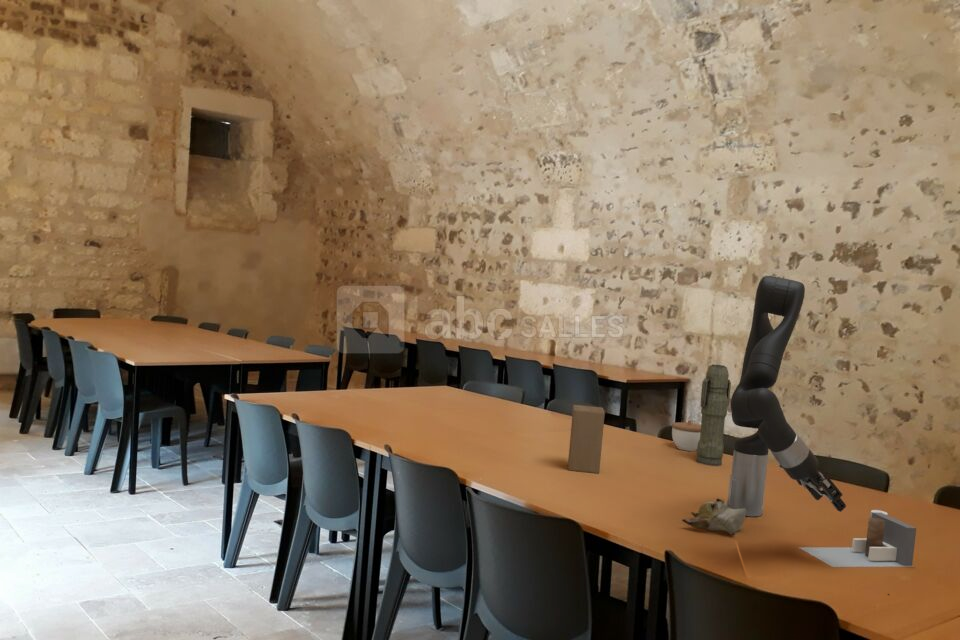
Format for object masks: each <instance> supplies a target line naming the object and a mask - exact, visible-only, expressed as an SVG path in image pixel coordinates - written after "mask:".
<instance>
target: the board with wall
mask: <svg viewBox="0 0 960 640" xmlns="http://www.w3.org/2000/svg"><path fill="white" fill-rule="evenodd" d="M872 518H879V519H882V520H884V521H885V525H884V535H883V542H885V543H887V544H889V545H891V546H894V547H896V548H897V553H896V561H871V560H869V559H868V557H866V556H865V552H853V551H852V546H851V547H848V546H847V547H839V546H838V547H828V546H826V547H822V546H821V547H817V546H816V547H815V546H814V547H806V546H805V547H798V549H800V550H802V551H804V552H805V553H807V554H809V555H811V556H812V557H813V558H816V559H817V560H820V561H821V562H822V563H825V564H826V565H828V566H830V567H831V568H869V567H870V568H879V567H881V568H882V567H883V568H893V567H895V568H897V567H903V568H904V567H905V568H908V567H909V568H911V567H915V565H913V560H914V553H915V543H916V534H917V527H916V526H913V525H910V524H908V523H906V522H903V521H902V520H899V519H897V518H894V517H892V516H890V515H889V514H888V515H885V514H883V513H874V512H872Z"/></svg>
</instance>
